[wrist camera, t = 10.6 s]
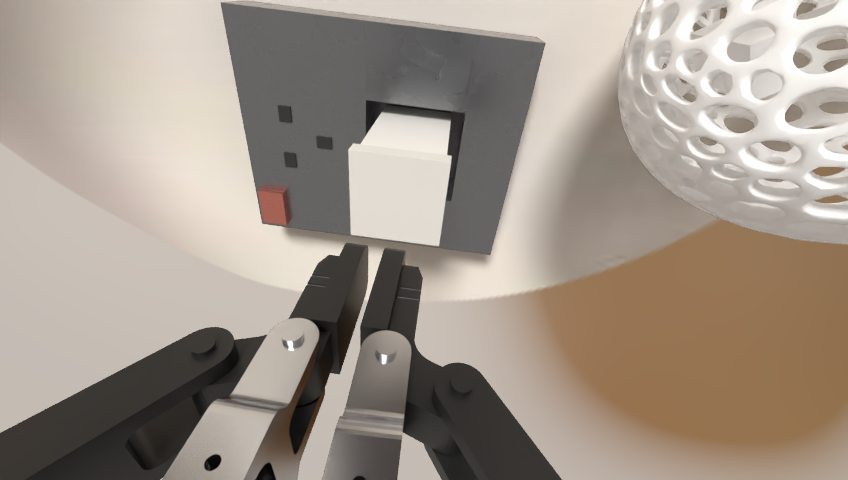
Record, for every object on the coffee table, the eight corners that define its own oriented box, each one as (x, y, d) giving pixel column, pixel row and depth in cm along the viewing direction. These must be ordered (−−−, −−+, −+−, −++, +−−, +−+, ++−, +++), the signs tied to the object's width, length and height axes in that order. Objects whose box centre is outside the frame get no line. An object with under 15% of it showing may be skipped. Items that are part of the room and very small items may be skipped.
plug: (381, 168, 24) (350, 234, 18) (383, 101, 22) (348, 149, 15) (446, 176, 24) (438, 246, 18) (455, 110, 22) (451, 163, 15)
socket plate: (277, 205, 27) (258, 227, 25) (245, 0, 20) (215, 2, 17) (488, 234, 27) (490, 259, 25) (536, 37, 20) (547, 44, 17)
